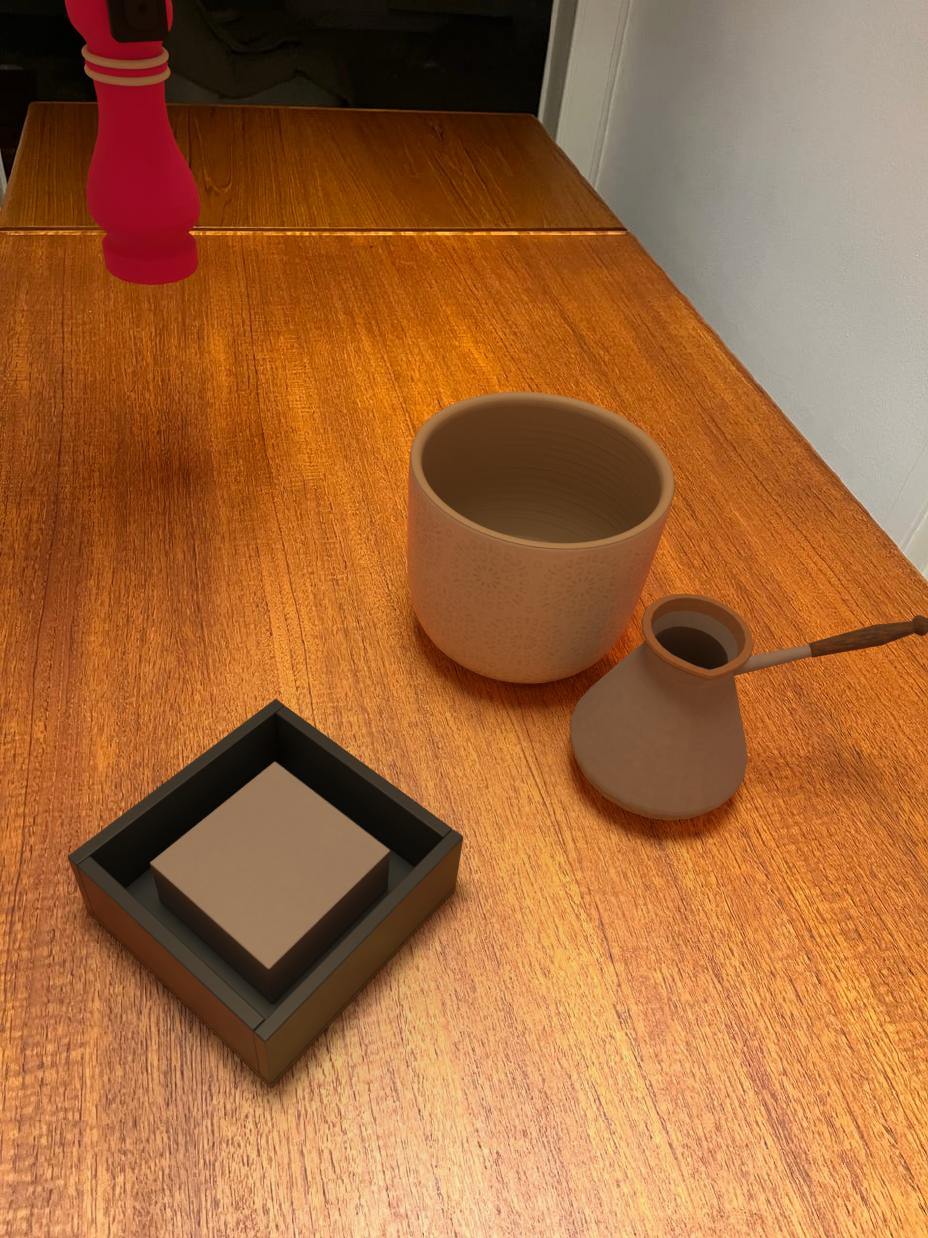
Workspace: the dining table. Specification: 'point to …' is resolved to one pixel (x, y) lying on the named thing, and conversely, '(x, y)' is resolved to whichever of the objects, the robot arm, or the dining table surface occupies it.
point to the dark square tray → (192, 969)
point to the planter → (531, 531)
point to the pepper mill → (136, 157)
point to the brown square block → (272, 879)
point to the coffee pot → (685, 707)
